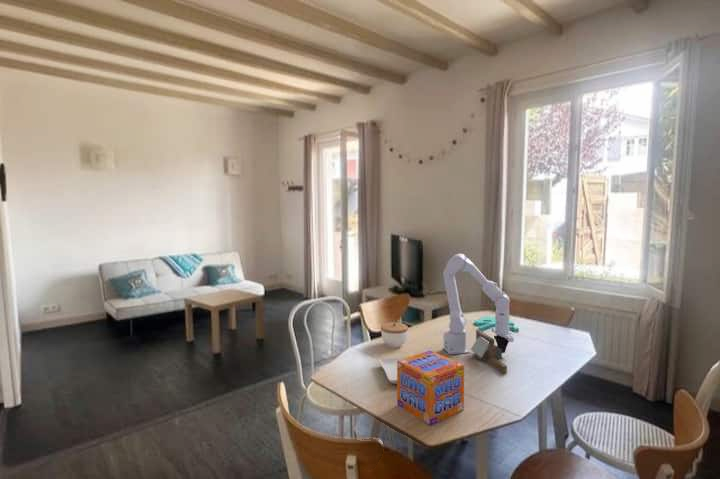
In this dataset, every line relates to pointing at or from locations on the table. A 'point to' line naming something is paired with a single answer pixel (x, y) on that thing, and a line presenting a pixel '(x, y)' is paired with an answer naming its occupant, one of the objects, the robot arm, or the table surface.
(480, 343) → the flap
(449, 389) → the game box
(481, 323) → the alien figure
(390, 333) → the lidded bowl
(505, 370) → the doorway frame
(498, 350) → the tall grey block
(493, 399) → the table surface
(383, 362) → the salad plate
